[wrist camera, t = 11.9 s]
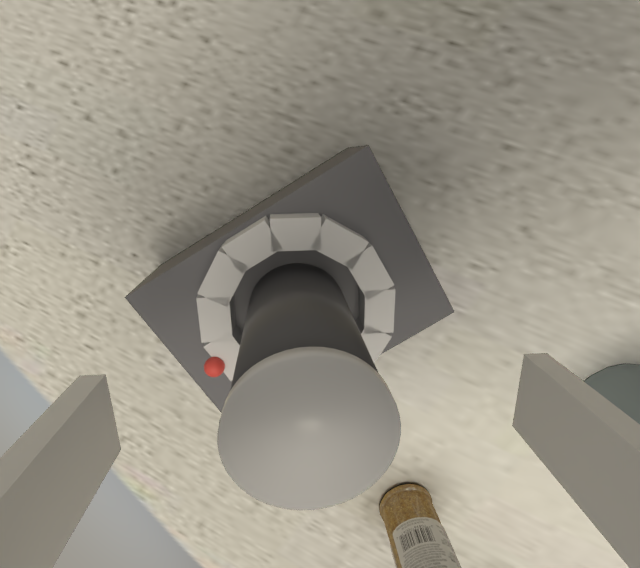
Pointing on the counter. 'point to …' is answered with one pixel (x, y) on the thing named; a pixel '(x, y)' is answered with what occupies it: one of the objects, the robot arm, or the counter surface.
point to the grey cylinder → (305, 398)
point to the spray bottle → (619, 387)
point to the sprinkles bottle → (416, 529)
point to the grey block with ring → (296, 247)
